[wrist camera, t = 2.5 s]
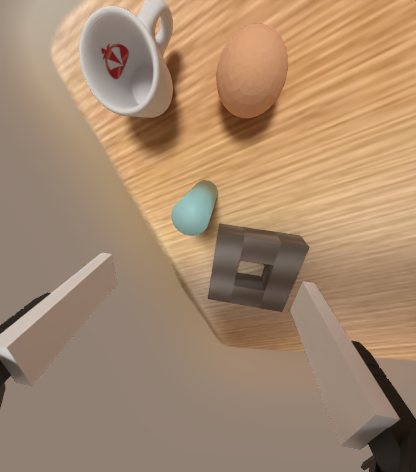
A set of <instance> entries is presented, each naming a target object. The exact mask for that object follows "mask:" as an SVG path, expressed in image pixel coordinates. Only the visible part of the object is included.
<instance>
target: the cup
mask: <svg viewBox="0 0 416 472" xmlns="http://www.w3.org/2000/svg"><path fill="white" fill-rule="evenodd" d="M160 15H161V25H160V29H159V32H158V34H157V35H156V37H155V27H156V23H157V21H158V18H159V17H160ZM172 30H173V19H172V14H171V11H170V9H169V7H168V5H167V3H166V2H165V1H164V0H146V1H145V3H144V4H143V6H142V8H141V10H140V12H139V14H138V16H137V17H136V16H135V15H134V14H132V13H131V12H129V11H128V10H125V9H123V8H120V7H116V6H108V7H103V8H101V9H99V10H97V11H95V12H94V13H93V14H92V15H91V16H90V17H89V18H88V20H87V21H86V23H85V25H84V27H83V30H82V33H81V37H80V44H79V56H80V64H81V68H82V72H83V75H84V78H85V80H86V83H87V85H88V87H89V88H90V90H91V92H92V93H93V95H94V96H95V97H96V99H97V100H98V101H99V102H100V103H101V104H102V105H103V106H104V107H106V108H107V109H109V110H110V111H112V112H114V113H116V114H119V115H123V116H133V117H144V118H154V117H157V116H160V115H161V114H163V113H164V112H165V111H166V110H167V109H168V107H169V105H170V103H171V100H172V95H173V84H172V79H171V75H170V72H169V70H168V68H167V65H166V63H165V61H164V59H163V55H164V52H165V49H166V47H167V46H168V43H169V41H170V38H171V35H172Z"/></svg>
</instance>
